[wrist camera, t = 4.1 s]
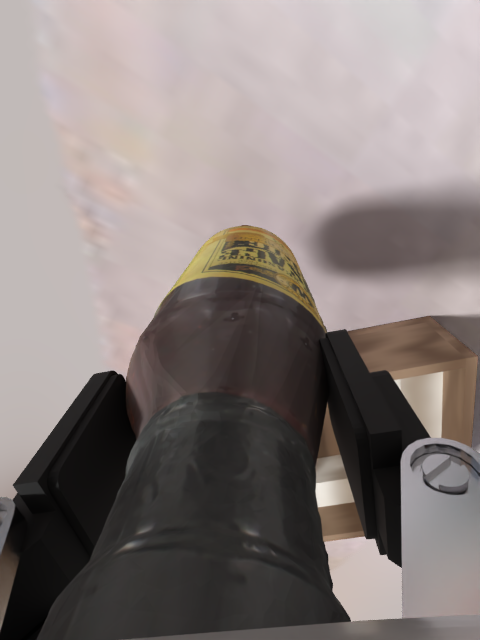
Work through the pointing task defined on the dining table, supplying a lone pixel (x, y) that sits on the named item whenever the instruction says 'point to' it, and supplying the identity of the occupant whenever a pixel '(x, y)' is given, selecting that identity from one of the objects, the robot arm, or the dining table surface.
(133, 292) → the dining table surface
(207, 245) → the sauce bottle
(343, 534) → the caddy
